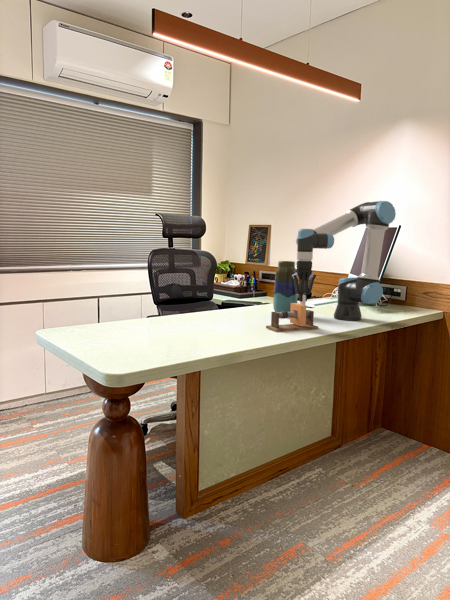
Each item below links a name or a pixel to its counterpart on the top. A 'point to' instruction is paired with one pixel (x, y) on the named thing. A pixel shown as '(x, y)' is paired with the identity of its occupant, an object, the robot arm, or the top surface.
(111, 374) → the top surface
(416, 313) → the top surface
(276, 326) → the pipe rig
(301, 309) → the collar
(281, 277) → the vase
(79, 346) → the top surface
